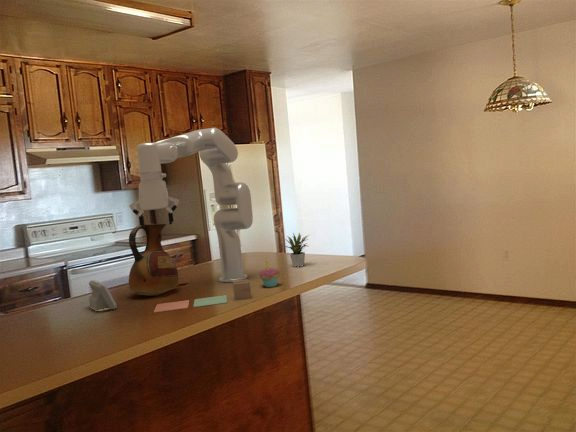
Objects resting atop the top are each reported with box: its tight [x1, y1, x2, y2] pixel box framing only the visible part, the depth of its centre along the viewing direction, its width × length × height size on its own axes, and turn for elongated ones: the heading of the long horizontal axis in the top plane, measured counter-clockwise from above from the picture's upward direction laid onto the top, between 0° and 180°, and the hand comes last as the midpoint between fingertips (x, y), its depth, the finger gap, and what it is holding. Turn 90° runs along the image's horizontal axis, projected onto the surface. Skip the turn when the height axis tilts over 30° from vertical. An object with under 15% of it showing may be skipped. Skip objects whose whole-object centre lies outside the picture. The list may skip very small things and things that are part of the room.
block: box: [232, 278, 252, 301], centre depth 194 cm, size 6×6×6 cm
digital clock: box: [88, 279, 118, 310], centre depth 199 cm, size 16×9×11 cm, turn 25°
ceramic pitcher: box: [128, 223, 179, 296], centre depth 216 cm, size 20×20×30 cm
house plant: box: [284, 232, 310, 267], centre depth 246 cm, size 14×14×16 cm
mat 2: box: [193, 294, 228, 308], centre depth 192 cm, size 12×12×1 cm
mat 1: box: [153, 299, 190, 314], centre depth 190 cm, size 12×12×1 cm
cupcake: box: [258, 257, 281, 288], centre depth 209 cm, size 9×8×12 cm
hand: (157, 225), depth 186 cm, fingers open, 9 cm apart
